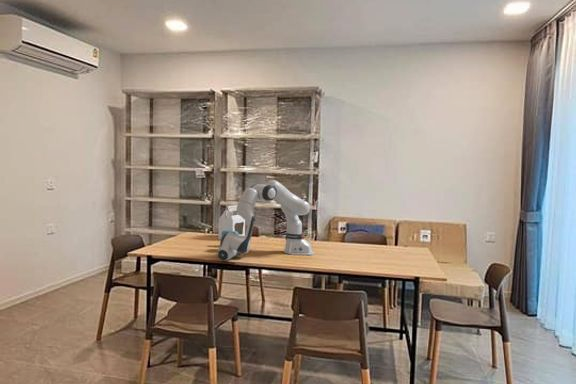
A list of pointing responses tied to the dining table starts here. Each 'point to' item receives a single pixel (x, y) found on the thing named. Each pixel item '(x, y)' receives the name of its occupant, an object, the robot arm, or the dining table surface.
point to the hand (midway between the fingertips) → (237, 246)
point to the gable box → (231, 222)
